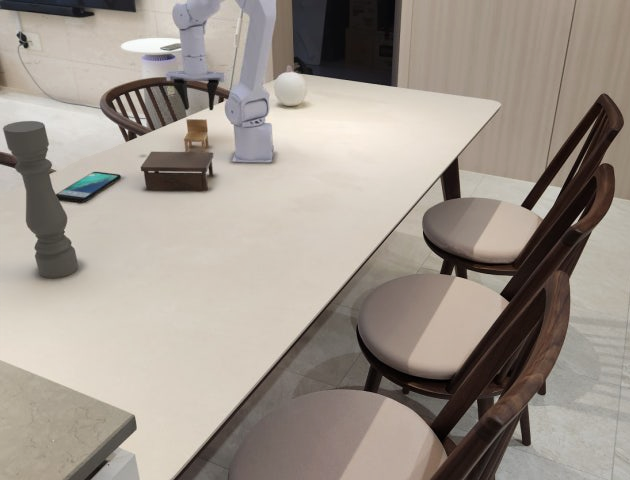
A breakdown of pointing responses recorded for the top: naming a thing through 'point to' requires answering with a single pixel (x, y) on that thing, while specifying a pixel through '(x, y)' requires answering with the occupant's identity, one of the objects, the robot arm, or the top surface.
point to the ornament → (290, 88)
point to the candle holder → (41, 199)
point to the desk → (177, 164)
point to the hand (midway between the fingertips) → (199, 109)
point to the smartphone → (88, 186)
